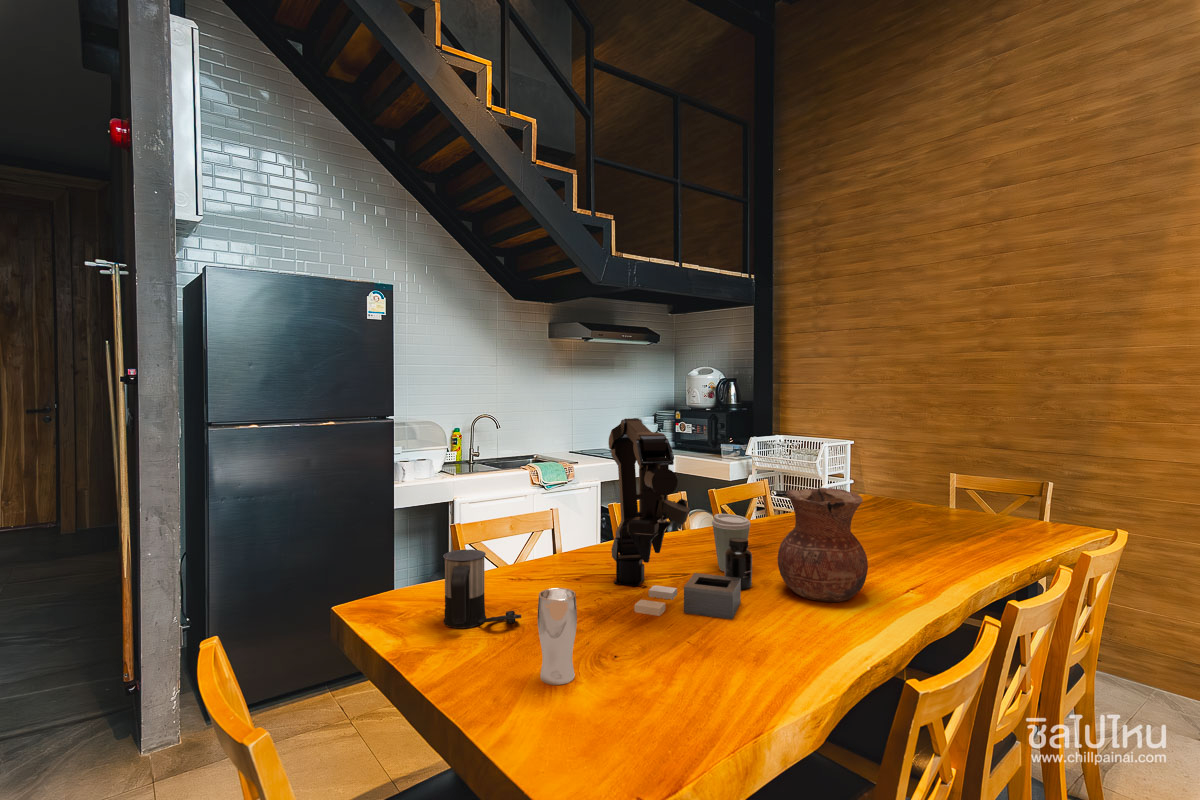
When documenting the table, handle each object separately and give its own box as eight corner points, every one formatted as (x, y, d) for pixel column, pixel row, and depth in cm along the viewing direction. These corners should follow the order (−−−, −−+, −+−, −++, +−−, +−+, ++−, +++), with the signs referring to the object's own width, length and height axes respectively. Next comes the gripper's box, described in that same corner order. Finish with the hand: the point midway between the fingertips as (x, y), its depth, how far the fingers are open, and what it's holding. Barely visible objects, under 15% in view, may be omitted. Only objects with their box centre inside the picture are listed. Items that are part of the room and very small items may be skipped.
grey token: (648, 598, 155) (648, 590, 155) (653, 593, 159) (653, 585, 159) (672, 601, 153) (672, 593, 153) (677, 596, 156) (677, 588, 156)
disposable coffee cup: (747, 564, 181) (748, 512, 181) (753, 576, 171) (753, 521, 170) (710, 563, 182) (710, 511, 182) (713, 575, 172) (713, 520, 171)
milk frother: (441, 616, 142) (440, 550, 142) (510, 607, 148) (510, 544, 147) (449, 641, 129) (448, 568, 128) (525, 630, 134) (525, 560, 134)
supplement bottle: (752, 591, 159) (752, 543, 158) (724, 589, 160) (724, 542, 160) (751, 582, 166) (751, 536, 165) (724, 581, 167) (724, 535, 166)
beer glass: (538, 669, 116) (537, 587, 116) (576, 667, 117) (575, 586, 116) (537, 687, 109) (537, 601, 109) (578, 685, 110) (577, 599, 109)
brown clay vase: (876, 612, 145) (877, 502, 144) (780, 605, 149) (781, 499, 148) (857, 581, 166) (858, 486, 165) (774, 576, 170) (775, 483, 170)
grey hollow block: (683, 612, 144) (683, 586, 144) (694, 597, 154) (694, 572, 154) (732, 619, 140) (732, 592, 140) (740, 603, 150) (740, 578, 150)
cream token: (634, 613, 145) (634, 604, 145) (640, 607, 148) (640, 599, 148) (659, 617, 142) (659, 608, 142) (665, 611, 146) (665, 603, 146)
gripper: (676, 496, 133) (677, 571, 133) (695, 485, 151) (695, 551, 151) (625, 494, 137) (626, 566, 137) (649, 483, 155) (650, 547, 155)
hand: (652, 557), depth 145 cm, fingers open, 9 cm apart
